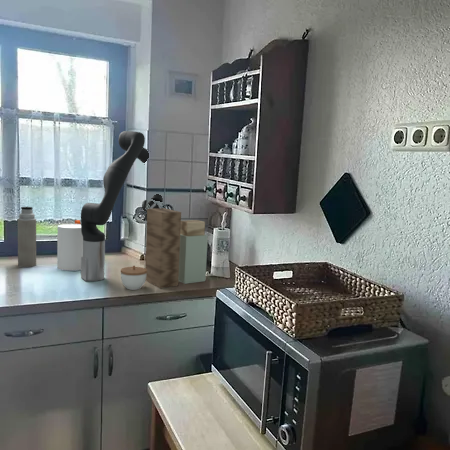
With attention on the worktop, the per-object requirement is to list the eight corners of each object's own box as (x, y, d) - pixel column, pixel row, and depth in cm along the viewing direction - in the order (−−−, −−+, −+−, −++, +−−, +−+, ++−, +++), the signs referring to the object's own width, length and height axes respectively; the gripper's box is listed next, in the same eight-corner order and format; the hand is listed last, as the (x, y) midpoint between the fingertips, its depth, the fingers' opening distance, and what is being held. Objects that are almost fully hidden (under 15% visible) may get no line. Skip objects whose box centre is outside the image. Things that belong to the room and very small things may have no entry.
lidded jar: (114, 287, 186) (115, 265, 185) (135, 282, 195) (135, 261, 193) (131, 293, 180) (131, 270, 178) (151, 288, 188) (152, 266, 187)
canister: (86, 270, 211) (86, 228, 208) (55, 270, 207) (55, 227, 205) (87, 263, 224) (88, 224, 221) (59, 263, 220) (59, 223, 218)
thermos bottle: (29, 262, 219) (29, 205, 216) (39, 265, 215) (39, 207, 211) (14, 265, 213) (13, 206, 209) (24, 268, 209) (24, 208, 205)
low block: (184, 283, 197) (186, 236, 194) (170, 276, 208) (172, 232, 205) (205, 281, 204) (207, 235, 201) (190, 274, 214) (192, 230, 211)
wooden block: (204, 235, 201) (205, 221, 200) (187, 236, 196) (187, 222, 195) (178, 227, 220) (178, 215, 220) (161, 227, 215) (162, 215, 214)
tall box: (159, 288, 189) (162, 212, 184) (144, 279, 200) (147, 208, 195) (178, 285, 194) (181, 212, 189) (163, 277, 205) (165, 208, 201)
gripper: (147, 187, 229) (145, 215, 222) (171, 195, 237) (170, 222, 230) (140, 193, 234) (138, 221, 227) (164, 200, 242) (163, 227, 235)
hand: (154, 222), depth 229 cm, fingers open, 8 cm apart
